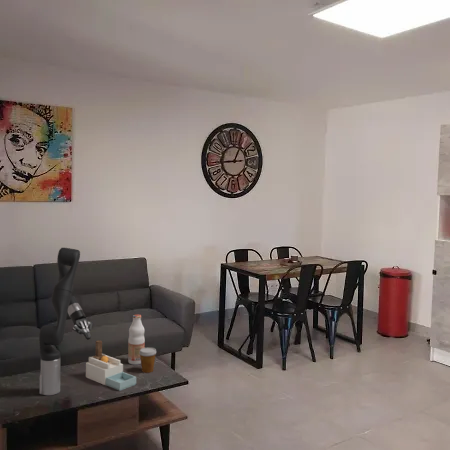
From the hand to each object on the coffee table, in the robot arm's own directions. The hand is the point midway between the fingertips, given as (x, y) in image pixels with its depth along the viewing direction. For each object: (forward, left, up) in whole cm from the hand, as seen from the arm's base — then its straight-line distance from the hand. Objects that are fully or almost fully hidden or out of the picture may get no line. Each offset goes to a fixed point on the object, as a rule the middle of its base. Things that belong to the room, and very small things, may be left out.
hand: (89, 338), depth 272 cm
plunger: (+6, -6, -10) cm, 14 cm away
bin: (+19, -19, -19) cm, 33 cm away
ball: (+9, -9, -9) cm, 16 cm away
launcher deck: (+9, -9, -19) cm, 23 cm away
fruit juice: (+25, +14, -19) cm, 34 cm away
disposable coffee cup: (+32, 0, -19) cm, 37 cm away
